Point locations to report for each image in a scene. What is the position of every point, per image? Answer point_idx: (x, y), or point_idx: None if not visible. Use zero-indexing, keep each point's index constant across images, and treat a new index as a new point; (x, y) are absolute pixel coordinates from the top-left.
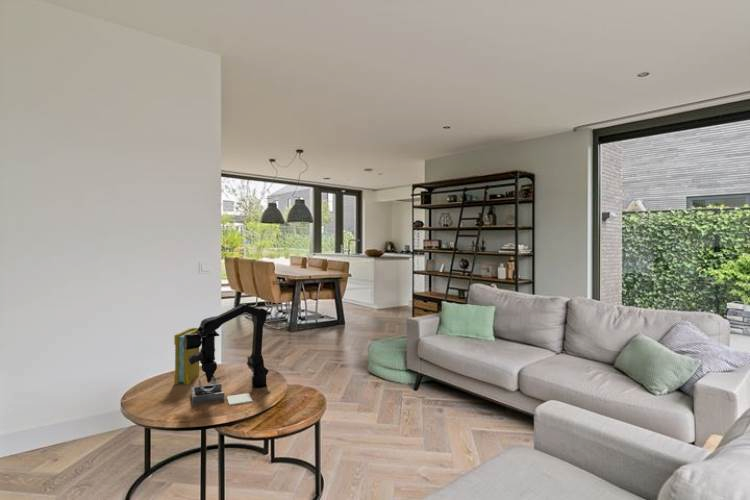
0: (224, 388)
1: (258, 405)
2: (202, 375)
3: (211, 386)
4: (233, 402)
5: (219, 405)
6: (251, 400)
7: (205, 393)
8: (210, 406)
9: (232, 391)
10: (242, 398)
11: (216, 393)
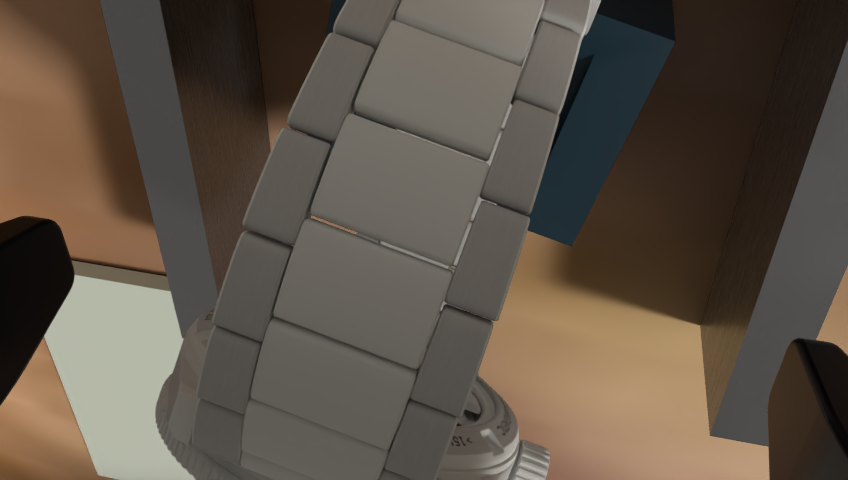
0: None
1: (11, 465)
2: (402, 242)
3: (764, 245)
4: (70, 320)
5: (51, 146)
6: (105, 471)
7: (329, 27)
8: (25, 12)
9: (572, 434)
10: None
11: (165, 223)
